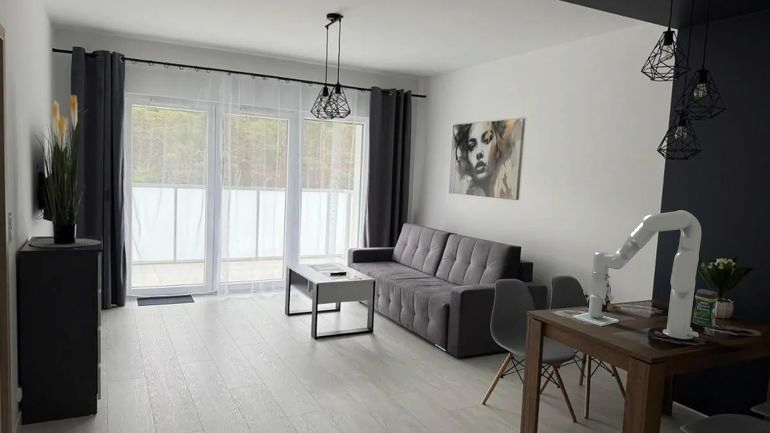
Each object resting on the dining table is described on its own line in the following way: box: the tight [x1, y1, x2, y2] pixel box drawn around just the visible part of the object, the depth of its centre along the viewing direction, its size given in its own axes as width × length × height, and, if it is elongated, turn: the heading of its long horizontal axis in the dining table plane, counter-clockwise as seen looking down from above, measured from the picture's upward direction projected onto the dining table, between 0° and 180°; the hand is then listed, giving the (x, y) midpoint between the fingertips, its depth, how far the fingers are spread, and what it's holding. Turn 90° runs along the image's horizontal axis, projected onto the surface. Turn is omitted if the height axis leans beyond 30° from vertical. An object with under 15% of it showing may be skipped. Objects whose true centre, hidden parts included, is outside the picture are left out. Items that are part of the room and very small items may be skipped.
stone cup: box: [607, 285, 622, 312], centre depth 298 cm, size 15×12×15 cm
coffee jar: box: [691, 288, 719, 328], centre depth 275 cm, size 10×8×19 cm
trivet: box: [572, 312, 620, 327], centre depth 275 cm, size 16×16×1 cm
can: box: [588, 293, 605, 318], centre depth 274 cm, size 8×8×12 cm
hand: (596, 309), depth 274 cm, fingers closed on can, 7 cm apart
